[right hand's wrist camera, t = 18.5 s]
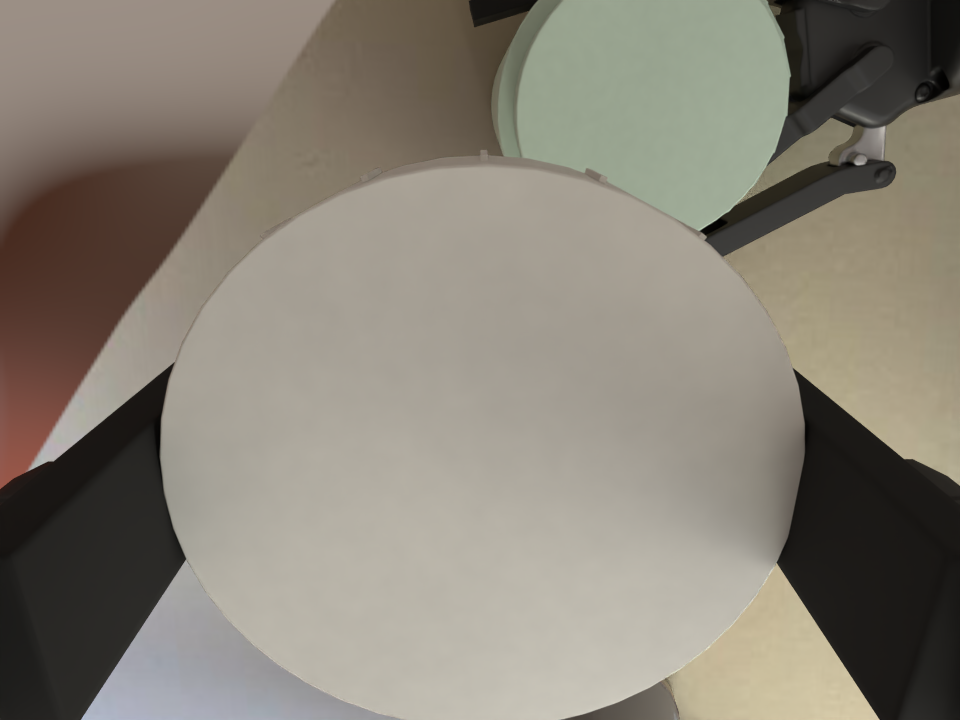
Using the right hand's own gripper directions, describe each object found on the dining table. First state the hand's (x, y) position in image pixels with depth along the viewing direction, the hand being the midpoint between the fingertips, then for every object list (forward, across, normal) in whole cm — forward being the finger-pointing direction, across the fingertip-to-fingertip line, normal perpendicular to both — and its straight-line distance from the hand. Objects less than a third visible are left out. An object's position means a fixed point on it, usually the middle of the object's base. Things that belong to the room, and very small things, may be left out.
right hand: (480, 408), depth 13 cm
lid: (-3, 0, 0) cm, 3 cm away
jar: (+26, +5, +6) cm, 27 cm away
